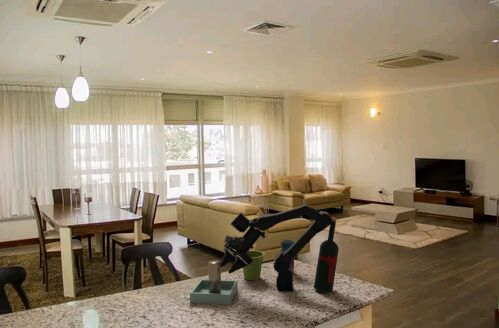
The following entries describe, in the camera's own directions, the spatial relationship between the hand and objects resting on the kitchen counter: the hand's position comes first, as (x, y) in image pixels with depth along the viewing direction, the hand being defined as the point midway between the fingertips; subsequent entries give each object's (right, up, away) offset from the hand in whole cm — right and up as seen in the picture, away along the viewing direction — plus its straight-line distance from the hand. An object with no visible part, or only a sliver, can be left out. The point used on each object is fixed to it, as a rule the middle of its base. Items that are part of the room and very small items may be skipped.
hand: (224, 269), depth 165 cm
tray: (-4, -10, -1) cm, 11 cm away
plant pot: (+11, -9, +19) cm, 24 cm away
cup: (+29, -8, +27) cm, 40 cm away
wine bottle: (+41, -9, +2) cm, 42 cm away
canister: (-4, -9, -1) cm, 10 cm away
